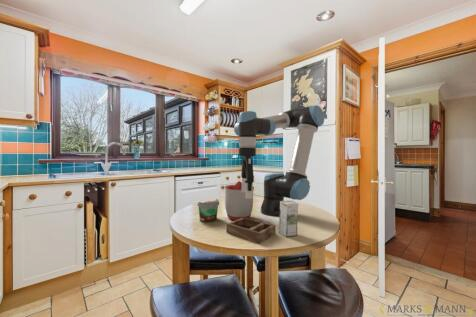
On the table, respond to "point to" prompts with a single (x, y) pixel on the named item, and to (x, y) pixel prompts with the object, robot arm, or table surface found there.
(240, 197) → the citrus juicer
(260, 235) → the socket block
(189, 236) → the table surface
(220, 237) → the table surface
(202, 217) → the food container
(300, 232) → the table surface
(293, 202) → the syrup box
